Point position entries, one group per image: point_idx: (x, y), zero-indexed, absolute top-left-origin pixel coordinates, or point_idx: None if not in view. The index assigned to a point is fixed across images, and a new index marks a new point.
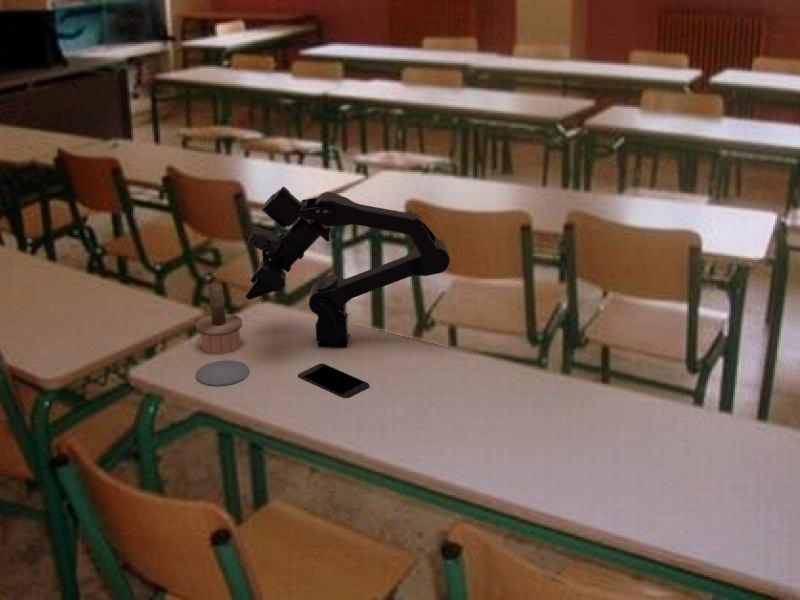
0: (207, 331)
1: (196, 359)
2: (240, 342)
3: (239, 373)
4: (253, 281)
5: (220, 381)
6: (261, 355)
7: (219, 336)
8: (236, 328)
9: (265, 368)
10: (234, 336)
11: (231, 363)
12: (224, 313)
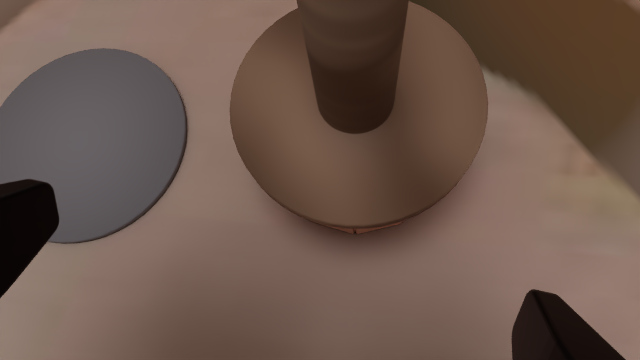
0: (262, 42)
1: None
2: (351, 233)
3: None
4: (520, 327)
5: (12, 127)
6: (189, 315)
7: None
8: (262, 186)
9: (56, 315)
10: None
11: (141, 176)
12: (335, 101)
